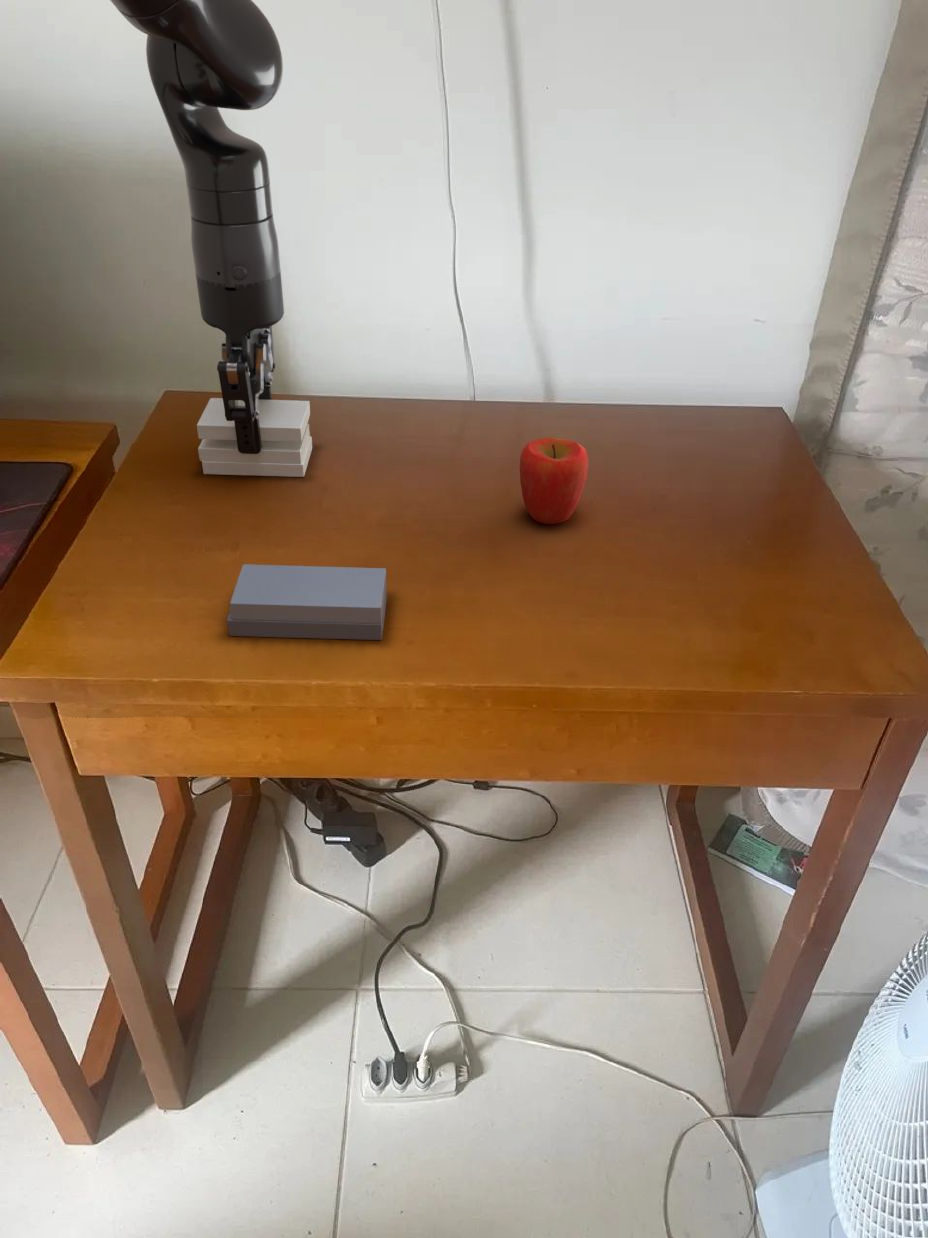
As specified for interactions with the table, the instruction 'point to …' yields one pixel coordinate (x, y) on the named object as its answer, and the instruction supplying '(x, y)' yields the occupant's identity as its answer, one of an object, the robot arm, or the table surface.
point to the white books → (256, 458)
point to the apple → (552, 478)
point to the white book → (274, 420)
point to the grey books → (309, 602)
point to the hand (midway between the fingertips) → (256, 435)
